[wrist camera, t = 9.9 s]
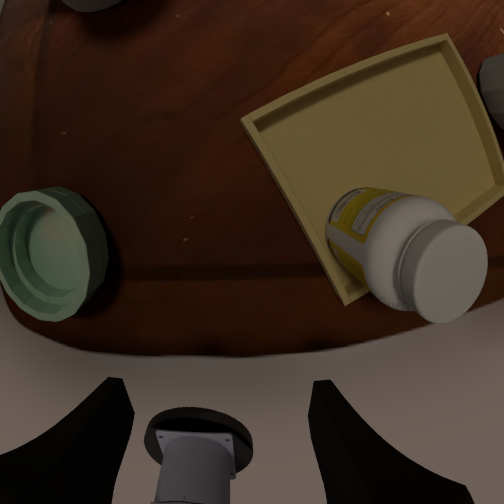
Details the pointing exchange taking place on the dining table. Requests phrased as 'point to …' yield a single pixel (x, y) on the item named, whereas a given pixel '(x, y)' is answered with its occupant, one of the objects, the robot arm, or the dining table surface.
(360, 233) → the supplement bottle
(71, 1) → the cup
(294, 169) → the enamel tray
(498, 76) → the water bottle
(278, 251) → the dining table surface
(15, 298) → the celadon dish
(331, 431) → the robot arm
